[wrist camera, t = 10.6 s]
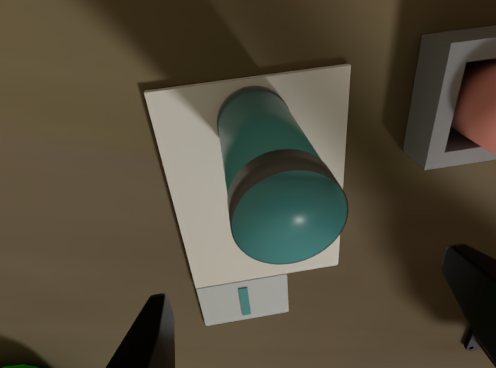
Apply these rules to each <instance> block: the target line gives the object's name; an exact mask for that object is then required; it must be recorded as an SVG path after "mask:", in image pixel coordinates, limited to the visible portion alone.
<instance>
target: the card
mask: <svg viewBox="0 0 496 368" xmlns="http://www.w3.org/2000/svg"><path fill="white" fill-rule="evenodd" d="M196 290H197V294H198V298H199V302H200V305H201V309H202V313H203V317H204V321H205V324H206V326H208V325H214V324H220V323H226V322H232V321H237V320H243V319H249V318H255V317H261V316H266V315H272V314H278V313H284V312H289V308H288V288H287V273H285V274H279V275H273V276H267V277H261V278H255V279H249V280H243V281H237V282H231V283H225V284H219V285H213V286H207V287H201V288H196Z"/></svg>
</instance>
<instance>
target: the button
mask: <svg viewBox="0 0 496 368" xmlns="http://www.w3.org/2000/svg"><path fill="white" fill-rule="evenodd" d="M451 128H453V129H454V130H456V131H457V132H459V133H461V134H462V135H464V136H465V137H467V138H469V139H470V140H472V141H473V142H475V143H477V144H478V145H480V146H481V147H483V148H485V149H486V150H488V151H490V152H492V153H496V58H494V59H486V60H480V61H478V62H476V63H474V64H473V65H471V66H470V67H468V68H467V69H466V70H465V71H464V74H463V78H462V82H461V86H460V90H459V94H458V98H457V103H456V107H455V111H454V115H453V119H452V123H451Z"/></svg>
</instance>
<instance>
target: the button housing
mask: <svg viewBox="0 0 496 368" xmlns="http://www.w3.org/2000/svg"><path fill="white" fill-rule="evenodd" d="M494 58H496V25H493V26H485V27H477V28H470V29H462V30H454V31H446V32H439V33H431V34H423V35H422V38H421V44H420V50H419V56H418V62H417V68H416V74H415V80H414V86H413V92H412V98H411V104H410V110H409V116H408V122H407V128H406V134H405V140H404V146H403V152H404V153H405V154H407V155H408V156H409V157H410V158H411V159H412V160H413V161H414V162H416V163H417V164H418V165H419V166H420V167H421V168H422V169H424V170H429V169H436V168H442V167H449V166H456V165H462V164H469V163H475V162H482V161H488V160H495V159H496V153H492V152H490V151H488V150H486V149H485V148H483V147H481V146H480V145H478V144H477V143H475V142H473V141H472V140H470V139H469V138H467V137H465V136H464V135H462V134H461V133H459V132H457V131H456V130H450V127H451V123H452V119H453V115H454V111H455V107H456V103H457V98H458V94H459V90H460V86H461V82H462V78H463V74H464V69H465V65H466V62H471V61H479V60H486V59H494Z"/></svg>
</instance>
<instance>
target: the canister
mask: <svg viewBox="0 0 496 368" xmlns="http://www.w3.org/2000/svg"><path fill="white" fill-rule="evenodd" d="M217 130H218V135H219V138H220V145H221V152H222V159H223V167H224V174H225V181H226V188H227V205H228V213H229V220H230V228H231V233H232V237H233V239H234V241H235V243H236V245H237V246H238V247H239V248H240V250H241V251H242V252H244V253H245V254H246V255H247V256H249V257H251V258H253V259H255V260H257V261H260V262H263V263H268V264H277V265H281V264H292V263H297V262H301V261H304V260H307V259H309V258H312V257H314V256H315V255H317V254H319V253H321V252H322V251H324V250H325V249H326V248H328V247H329V246H330V245H331V244H332V243H333V242H334V241H335V240H336V239H337V238H338V236H339V235H340V233H341V232H342V230H343V228H344V226H345V224H346V221H347V217H348V201H347V197H346V195H345V193H344V191H343V189H342V187H341V186H340V184H339V183H338V181H337V180H336V178H335V177H334V175H333V174H332V172H331V171H330V169H329V168H328V167H327V165H326V164H325V163H324V162H323V161H322V160H321V158H320V157H319V155H318V154H317V152H316V151H315V149H314V148H313V146H312V144H311V143H310V141H309V140H308V138H307V137H306V135H305V134H304V132H303V131H302V129H301V128H300V126H299V125H298V123H297V122H296V120H295V119H294V117H293V115H292V114H291V112H290V111H289V108H288V106H287V105H286V103H285V102H284V100H283V99H282V98H281V96H280V95H279V94H278V93H276V92H275V91H273V90H271V89H269V88H267V87H263V86H247V87H243V88H240V89H238V90H236V91H234V92H233V93H231V94H230V95H229V96H228V97H227V98H226V99H225V100H224V102H223V103H222V105H221V107H220V109H219V112H218V115H217Z"/></svg>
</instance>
